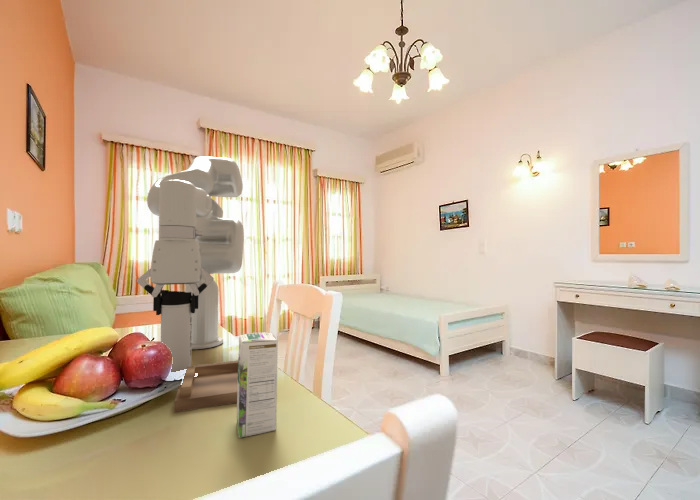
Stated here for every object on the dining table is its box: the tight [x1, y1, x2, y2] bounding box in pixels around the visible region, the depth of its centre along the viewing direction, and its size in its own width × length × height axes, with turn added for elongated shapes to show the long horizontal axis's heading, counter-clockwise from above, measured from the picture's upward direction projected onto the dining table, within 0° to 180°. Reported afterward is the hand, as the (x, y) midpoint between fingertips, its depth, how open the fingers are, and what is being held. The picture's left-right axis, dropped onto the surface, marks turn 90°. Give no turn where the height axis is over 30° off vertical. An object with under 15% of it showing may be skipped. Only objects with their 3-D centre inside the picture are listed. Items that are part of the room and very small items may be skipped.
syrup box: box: [236, 332, 279, 438], centre depth 53 cm, size 6×6×14 cm
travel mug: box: [160, 289, 193, 372], centre depth 74 cm, size 6×7×20 cm
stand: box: [173, 360, 238, 413], centre depth 66 cm, size 14×14×4 cm
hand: (176, 312), depth 74 cm, fingers closed on travel mug, 6 cm apart
